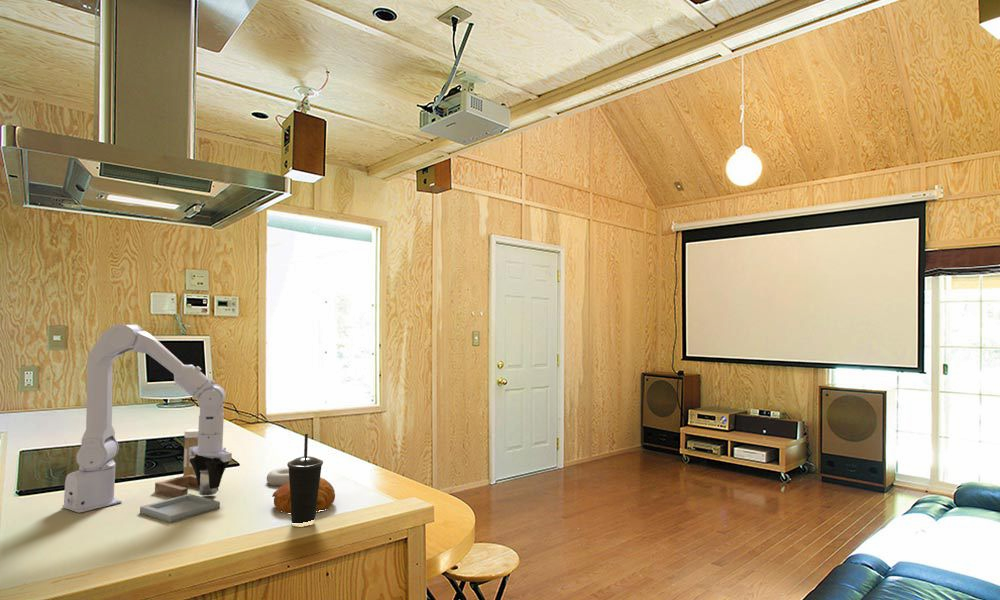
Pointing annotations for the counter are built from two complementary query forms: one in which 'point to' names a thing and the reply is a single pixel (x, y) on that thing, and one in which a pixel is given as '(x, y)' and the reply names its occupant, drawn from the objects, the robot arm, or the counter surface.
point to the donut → (278, 477)
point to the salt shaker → (205, 483)
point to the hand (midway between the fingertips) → (208, 486)
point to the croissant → (323, 500)
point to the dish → (179, 507)
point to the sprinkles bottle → (190, 441)
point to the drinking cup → (304, 486)
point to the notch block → (176, 486)
